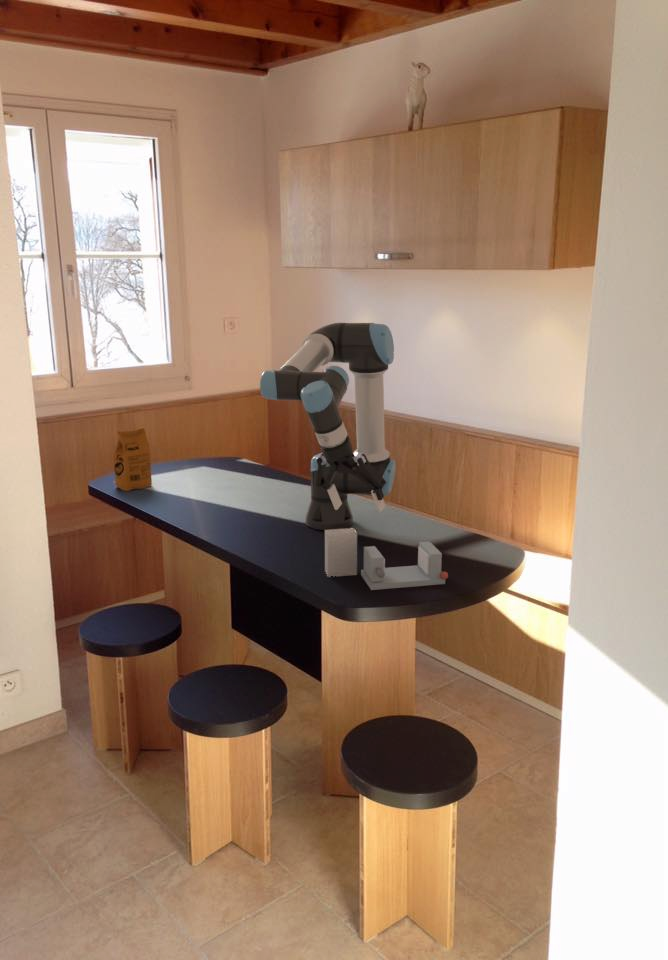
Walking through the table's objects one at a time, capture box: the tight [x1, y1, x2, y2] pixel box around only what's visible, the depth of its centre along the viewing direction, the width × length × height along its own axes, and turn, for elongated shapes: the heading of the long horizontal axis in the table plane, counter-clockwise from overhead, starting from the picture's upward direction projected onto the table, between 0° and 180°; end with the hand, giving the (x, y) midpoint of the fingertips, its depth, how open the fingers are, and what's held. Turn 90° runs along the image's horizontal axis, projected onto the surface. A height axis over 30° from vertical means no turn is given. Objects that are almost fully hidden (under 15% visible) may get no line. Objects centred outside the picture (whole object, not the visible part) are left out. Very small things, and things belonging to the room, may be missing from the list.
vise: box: [360, 540, 449, 591], centre depth 226 cm, size 12×21×8 cm, turn 102°
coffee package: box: [113, 426, 153, 492], centre depth 316 cm, size 10×12×22 cm
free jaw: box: [363, 545, 386, 582], centre depth 223 cm, size 13×4×6 cm, turn 12°
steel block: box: [324, 527, 358, 578], centre depth 231 cm, size 4×8×12 cm, turn 102°
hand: (359, 507), depth 224 cm, fingers open, 13 cm apart
